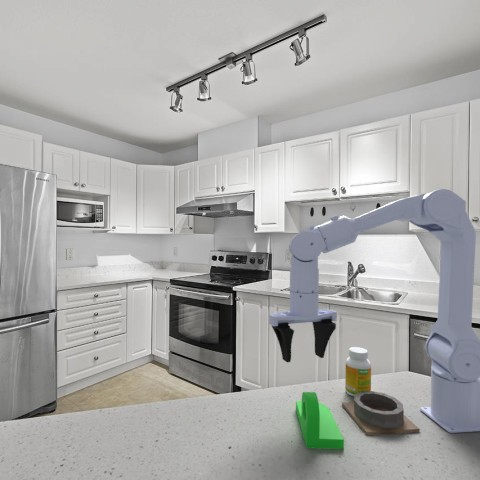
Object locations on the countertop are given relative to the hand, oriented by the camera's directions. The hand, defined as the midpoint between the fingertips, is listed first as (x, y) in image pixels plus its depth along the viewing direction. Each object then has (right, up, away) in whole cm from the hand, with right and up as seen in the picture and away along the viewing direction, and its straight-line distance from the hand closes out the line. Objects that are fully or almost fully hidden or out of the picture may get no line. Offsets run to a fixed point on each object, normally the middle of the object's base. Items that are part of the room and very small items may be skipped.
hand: (303, 358), depth 64 cm
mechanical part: (+1, -11, -6) cm, 13 cm away
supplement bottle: (+14, -11, +7) cm, 19 cm away
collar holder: (+14, -11, -3) cm, 18 cm away
